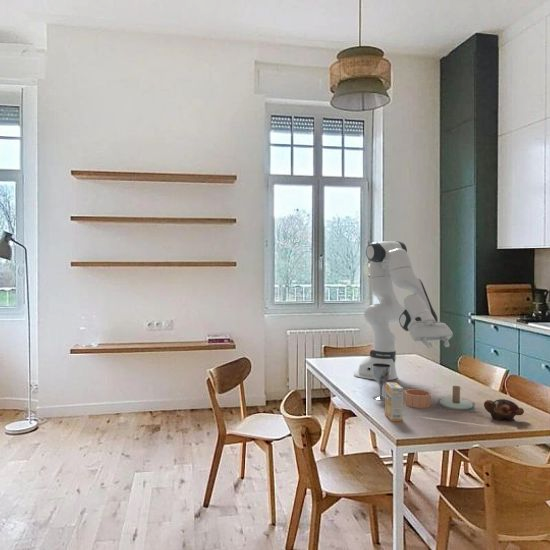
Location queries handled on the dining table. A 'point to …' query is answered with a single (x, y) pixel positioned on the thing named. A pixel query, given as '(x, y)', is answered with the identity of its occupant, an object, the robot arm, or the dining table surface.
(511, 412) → the decorative turtle
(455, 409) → the mat
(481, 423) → the dining table surface
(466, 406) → the lid
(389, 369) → the wine glass
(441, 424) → the dining table surface
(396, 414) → the supplement box
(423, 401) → the bowl
